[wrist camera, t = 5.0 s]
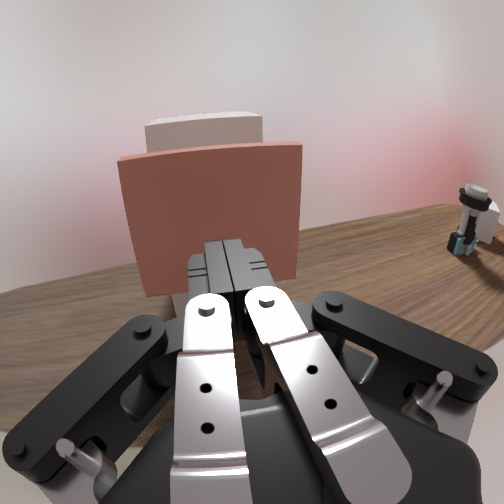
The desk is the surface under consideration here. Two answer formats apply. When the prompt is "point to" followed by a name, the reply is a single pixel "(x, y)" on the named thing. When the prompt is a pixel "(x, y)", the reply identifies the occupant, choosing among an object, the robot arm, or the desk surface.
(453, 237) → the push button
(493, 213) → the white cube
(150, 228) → the plug
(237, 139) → the socket block
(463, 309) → the desk surface
